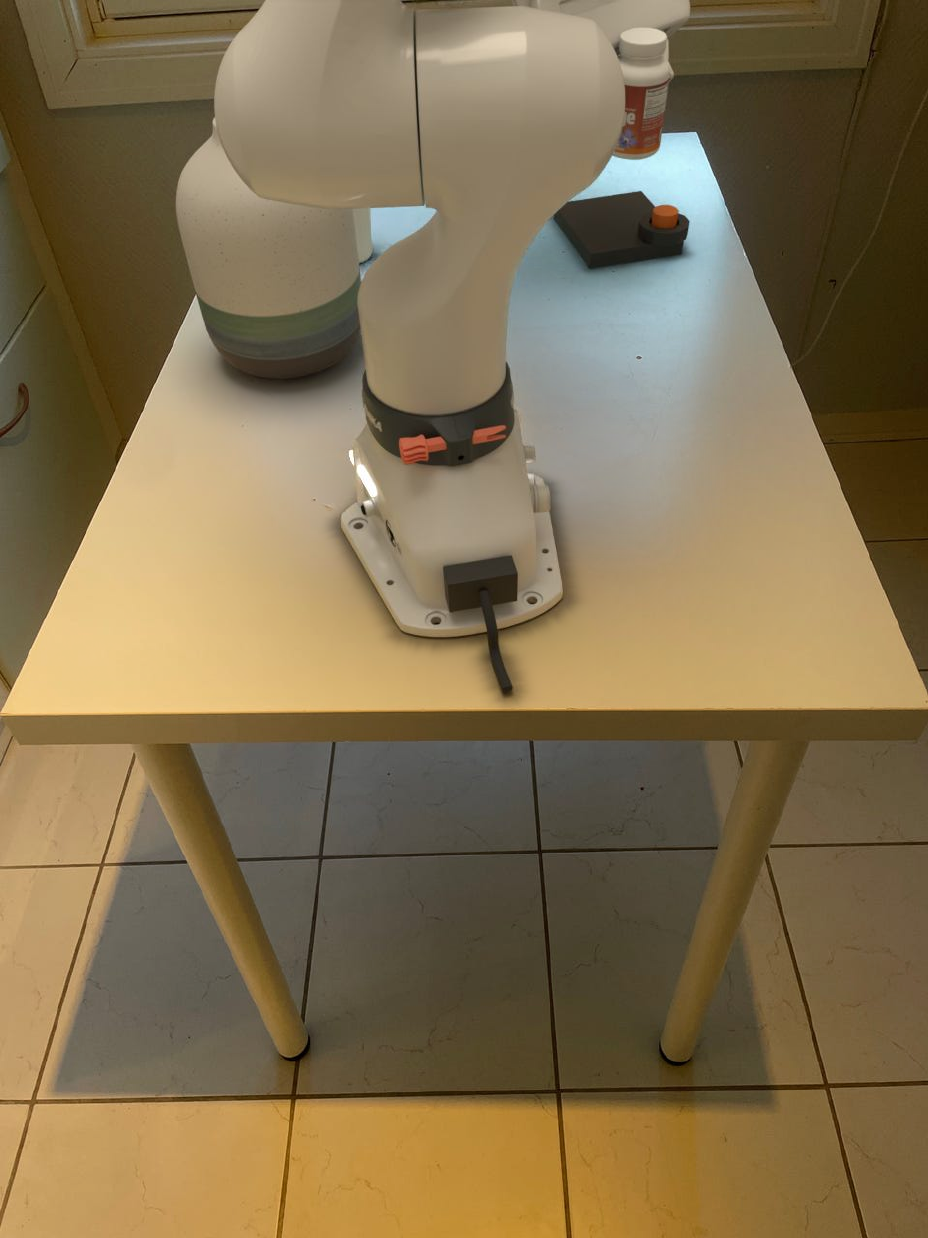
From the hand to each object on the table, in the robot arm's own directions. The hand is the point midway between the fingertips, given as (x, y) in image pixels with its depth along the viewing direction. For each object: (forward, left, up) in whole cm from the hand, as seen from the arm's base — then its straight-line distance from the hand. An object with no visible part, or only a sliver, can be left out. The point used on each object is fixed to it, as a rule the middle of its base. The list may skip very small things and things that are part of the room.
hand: (641, 92), depth 97 cm
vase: (-5, +41, -20) cm, 46 cm away
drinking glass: (+14, +31, -20) cm, 39 cm away
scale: (+9, -2, -20) cm, 22 cm away
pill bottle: (+1, 0, -6) cm, 6 cm away
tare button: (+4, -6, -17) cm, 18 cm away
